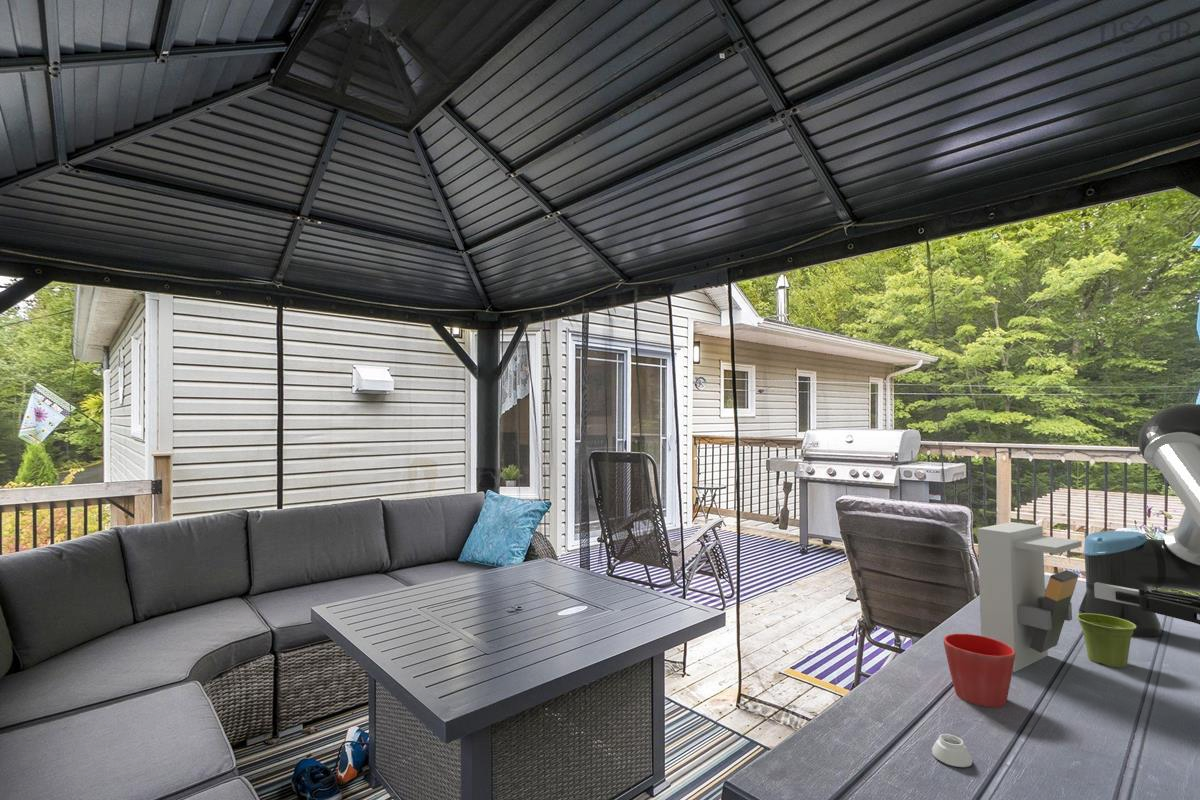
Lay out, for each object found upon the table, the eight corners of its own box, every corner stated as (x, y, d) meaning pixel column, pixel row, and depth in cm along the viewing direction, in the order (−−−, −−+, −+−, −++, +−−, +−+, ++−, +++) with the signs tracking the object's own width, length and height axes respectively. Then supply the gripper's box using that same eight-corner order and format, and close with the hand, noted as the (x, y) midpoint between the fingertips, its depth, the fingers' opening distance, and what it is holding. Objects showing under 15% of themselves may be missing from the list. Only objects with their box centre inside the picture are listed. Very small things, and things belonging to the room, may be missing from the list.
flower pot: (996, 718, 94) (994, 660, 95) (932, 691, 104) (931, 638, 104) (1029, 704, 99) (1027, 649, 100) (965, 679, 109) (964, 629, 109)
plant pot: (1150, 673, 112) (1148, 629, 112) (1096, 669, 114) (1094, 626, 114) (1117, 655, 121) (1115, 614, 121) (1068, 651, 123) (1066, 611, 123)
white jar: (976, 760, 82) (939, 746, 86) (975, 740, 82) (938, 726, 86) (965, 774, 79) (927, 758, 83) (965, 753, 79) (926, 738, 83)
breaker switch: (1046, 639, 118) (1067, 569, 115) (1057, 644, 116) (1079, 574, 114) (1028, 647, 113) (1049, 575, 111) (1040, 653, 112) (1062, 580, 109)
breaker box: (1015, 646, 126) (1011, 522, 127) (1090, 667, 115) (1083, 530, 116) (982, 661, 117) (977, 528, 119) (1058, 686, 106) (1052, 538, 108)
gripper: (1280, 659, 84) (1084, 615, 104) (1295, 641, 91) (1108, 603, 111) (1277, 609, 85) (1082, 574, 105) (1292, 595, 92) (1106, 566, 112)
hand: (1095, 589), depth 108 cm, fingers closed
